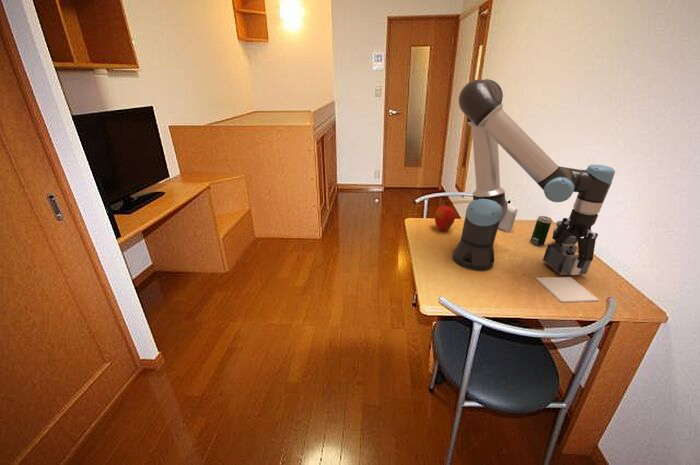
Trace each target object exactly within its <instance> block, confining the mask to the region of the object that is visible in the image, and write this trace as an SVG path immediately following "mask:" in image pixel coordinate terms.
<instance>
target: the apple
mask: <svg viewBox="0 0 700 465" xmlns="http://www.w3.org/2000/svg"><path fill="white" fill-rule="evenodd" d="M455 220H456V211H455V209H454V208H453V207H451V206H448V205H441V206H439V207H438V208H436V210H435V213H434V221H435V222H434V223H435V226H436V228H438V230H440V231H443V232H446V231H448V230H449V229H451V227H452V226H453V224H454V223H455Z"/></svg>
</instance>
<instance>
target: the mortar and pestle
mask: <svg viewBox="0 0 700 465" xmlns="http://www.w3.org/2000/svg"><path fill="white" fill-rule="evenodd" d="M561 223H562V220H557V221H556V223H555V225H556V227H555V228H554V229H553V232H552V236H553V235H554V234H555V232H556V231H557V229H558V228H559V226H560V225H561ZM553 244H555V242H554V243H553ZM561 244H574V245H576V244H578V241H577V240H576V237H575V236H574V235H573V234H572V235H571V236H570V237H569V238H567V239H566V240H565V241H564V243H561Z"/></svg>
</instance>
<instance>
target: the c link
mask: <svg viewBox="0 0 700 465" xmlns="http://www.w3.org/2000/svg"><path fill="white" fill-rule="evenodd" d="M545 249H546V250H545V252H544V254H543V255H544V256H543V258H542V261H543V262H544V263H545V264H547V265H548V266H549V267H551V269H553V270H554V271H555V272H556V273H558V275H562V276H563V275H571V274H570V273H571V270H572V268H573V265H574V263H575V260H576V258H579V254H576V252H577V251H578V250H577V249H578V245H576V244H554V243H548V244H547V246H546V248H545ZM568 249H572V250H574V255H567V254H566V251H567V250H568ZM583 257H584V256H583ZM591 263H592V261H586V262H585V264H584V267H583V268H581V270H580V272H579V275H586V274H587V272H588V270H589V268H590V265H591Z"/></svg>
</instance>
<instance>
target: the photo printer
mask: <svg viewBox="0 0 700 465" xmlns="http://www.w3.org/2000/svg"><path fill="white" fill-rule="evenodd" d="M507 205H508V210H507V213H506V215H505V217H504V218H503V219H502V221H501V223H500V225H499V227H498V230H501V231H503V232H506V233H510V232H512V230H513V227H514V224H515V221H516V217H517V213H518V209H517V208H516V207H515V206H514V205H512V204H510V203H507Z"/></svg>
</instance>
